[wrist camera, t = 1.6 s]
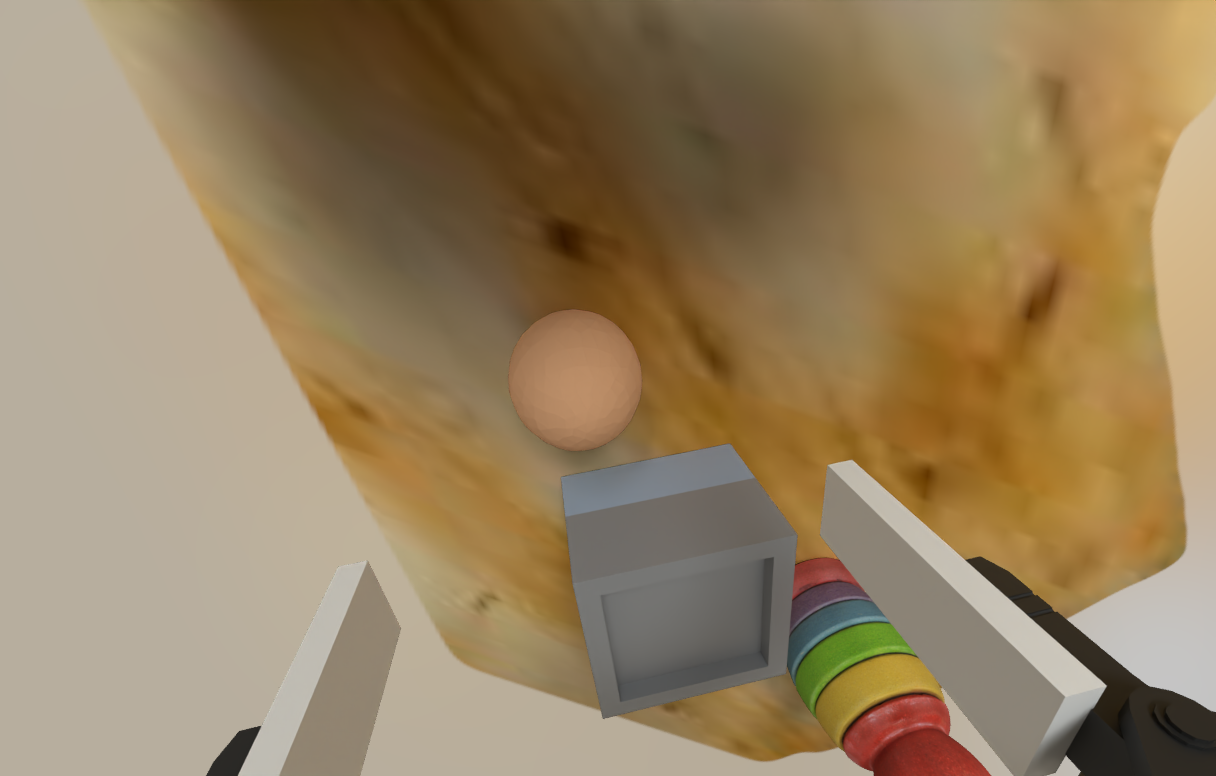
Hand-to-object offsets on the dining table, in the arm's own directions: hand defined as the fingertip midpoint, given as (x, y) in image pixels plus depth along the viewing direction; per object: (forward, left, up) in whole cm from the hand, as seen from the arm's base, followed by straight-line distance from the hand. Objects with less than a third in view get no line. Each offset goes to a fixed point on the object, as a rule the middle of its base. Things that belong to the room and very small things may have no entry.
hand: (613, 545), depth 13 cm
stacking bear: (+27, +17, -16) cm, 36 cm away
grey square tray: (+15, +4, -16) cm, 22 cm away
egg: (0, 0, -16) cm, 16 cm away
